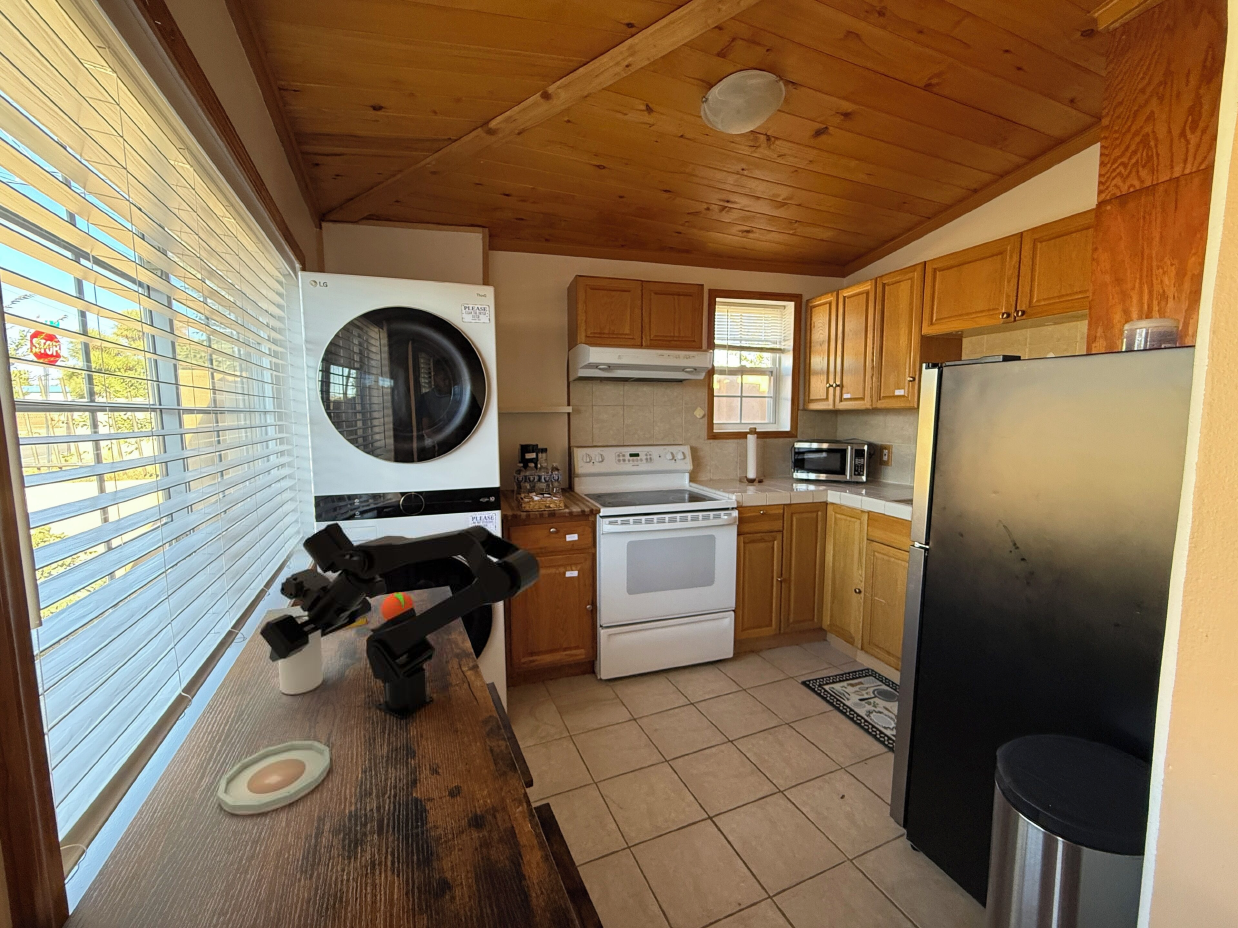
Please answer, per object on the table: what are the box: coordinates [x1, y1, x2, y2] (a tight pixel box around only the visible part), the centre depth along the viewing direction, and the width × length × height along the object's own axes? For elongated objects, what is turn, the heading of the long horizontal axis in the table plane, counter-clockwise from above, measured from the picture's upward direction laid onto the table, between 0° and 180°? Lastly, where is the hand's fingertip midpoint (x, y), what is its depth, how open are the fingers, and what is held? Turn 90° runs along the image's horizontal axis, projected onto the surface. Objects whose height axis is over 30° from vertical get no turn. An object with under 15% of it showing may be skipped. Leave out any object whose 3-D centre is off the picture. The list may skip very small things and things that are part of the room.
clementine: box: [380, 591, 415, 621], centre depth 118 cm, size 8×7×7 cm
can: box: [277, 614, 324, 696], centre depth 89 cm, size 6×6×12 cm
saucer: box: [216, 740, 331, 816], centre depth 67 cm, size 12×12×1 cm
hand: (295, 647), depth 90 cm, fingers open, 9 cm apart
